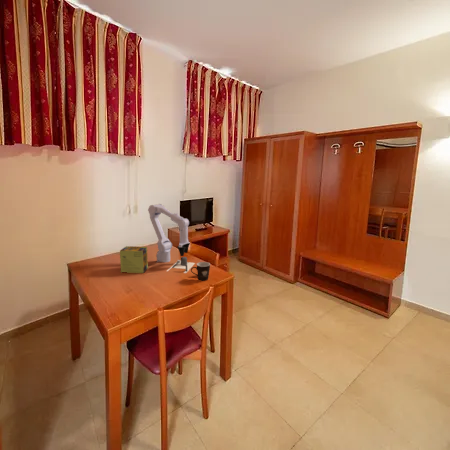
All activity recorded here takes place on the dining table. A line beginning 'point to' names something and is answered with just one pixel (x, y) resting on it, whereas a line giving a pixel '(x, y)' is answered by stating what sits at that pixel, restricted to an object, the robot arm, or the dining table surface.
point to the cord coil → (184, 260)
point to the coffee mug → (202, 270)
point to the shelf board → (183, 266)
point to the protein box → (133, 259)
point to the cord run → (177, 263)
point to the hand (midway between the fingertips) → (183, 254)
